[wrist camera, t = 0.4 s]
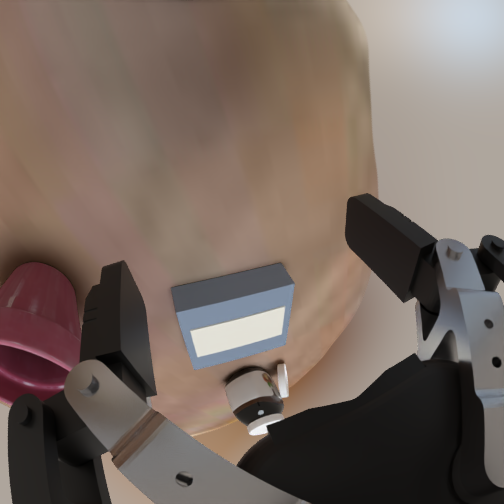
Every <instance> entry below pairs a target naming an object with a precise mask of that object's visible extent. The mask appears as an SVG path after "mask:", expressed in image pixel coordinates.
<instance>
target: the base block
mask: <svg viewBox="0 0 504 504" xmlns="http://www.w3.org/2000/svg"><path fill="white" fill-rule="evenodd" d="M294 285H295V283H294V282H293V280H292V279H291V277H290V276H289V274H288V272H287V271H286V269H285V268H284V266H283V265H282V263H278V264H274V265H269V266H265V267H261V268H257V269H252V270H248V271H244V272H239V273H235V274H231V275H226V276H222V277H217V278H213V279H208V280H204V281H200V282H195V283H191V284H186V285H181V286H177V287H172V288H171V290H172V295H173V300H174V305H175V310H176V314H177V318H178V321H179V324H180V328H181V331H182V334H183V338H184V341H185V344H186V347H187V350H188V353H189V356H190V359H191V362H192V365H193V368H194V370H197V369H201V368H205V367H209V366H213V365H217V364H221V363H225V362H229V361H232V360H236V359H240V358H243V357H247V356H250V355H254V354H257V353H261V352H264V351H267V350H271V349H274V348H277V347H280V346H283V345H285V344H286V338H287V332H288V326H289V319H290V312H291V306H292V299H293V292H294Z"/></svg>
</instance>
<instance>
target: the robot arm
mask: <svg viewBox="0 0 504 504" xmlns="http://www.w3.org/2000/svg"><path fill="white" fill-rule="evenodd" d="M345 238H346V241H347V244H348V246H349V247H350V249H351V250H352V251H353V252H354V253H355V254H356V255H357V256H359V257H360V258H361V259H362V260H363V261H364V262H365V263H366V264H367V265H368V266H369V268H370V269H371V270H372V271H374V273H376V275H377V276H378V277H379V278H380V279H381V280H382V281H383V282H384V283H385V284H386V285H387V286H388V287H389V288H390V289H391V290H392V291H393V292H394V293H395V294H396V295H397V297H398V298H399V299H400V300H401V301H402V302H403V303H404V302H407V301H408V300H410V299H412V298H414V297H416V298H417V302H416V305H415V309H416V310H415V311H416V322H417V336H418V337H417V338H418V352H417V355H416V354H415V353H414V354H412V355H411V356H409V357H407V358H406V359H404V360H403V361H401V362H399V363H398V364H396V365H394V366H393V367H391V368H389V369H388V370H386V371H385V372H384V373H383V374H382V375H381V376H380V377H379V378H378V379H377V380H375V381H374V382H373V383H372V384H371V385H370V386H369V387H368V388H367V389H366V390H365V391H364V392H363V393H362V394H361V395H359V396H358V397H357V398H355V399H353V400H350V401H346V402H341V403H337V404H332V405H327V406H322V407H317V408H311V409H308V410H305V411H303V412H300V413H298V414H296V415H293V416H291V417H288V418H285V419H283V420H280V421H278V422H275V423H272V424H269V425H267V426H266V427H267V431H268V435H267V436H265V437H264V438H262V439H261V440H259V441H258V442H257V443H256V444H255V445H253V446H252V447H251V448H250V449H249V450H248V451H247V452H246V454H244V456H243V457H242V458H241V460H240V461H239V462H238V464H237V466H235V465H234V464H232V463H230V462H229V461H227V460H226V459H224V458H222V457H221V456H219V455H218V454H216V453H214V452H213V451H211V450H210V449H208V448H207V447H205V446H204V445H203V444H201V443H199V442H198V441H197V440H195V439H194V438H192V437H191V436H190V435H188V434H187V433H186V432H184V431H183V430H181V429H180V428H179V427H177V426H176V425H175V424H174V423H172V422H171V421H170V420H168V419H167V418H166V417H164V416H163V415H162V414H160V413H159V412H156V411H155V410H154V409H152V408H151V407H150V406H149V405H148V404H147V399H146V397H151V396H155V395H157V392H156V386H155V380H154V373H153V366H152V359H151V352H150V343H149V335H148V325H147V315H146V308H145V304H144V301H143V298H142V296H141V293H140V291H139V289H138V287H137V285H136V283H135V281H134V279H133V277H132V275H131V272H130V270H129V268H128V266H127V264H126V262H125V261H124V260H123V261H120V262H116V263H113V264H110V265H107V266H104V267H103V268H102V272H101V279H100V284H98V285H95V286H93V287H92V289H91V290H90V292H89V294H88V296H87V298H86V301H85V308H84V312H85V313H84V316H83V323H84V324H83V325H82V334H81V345H80V359H79V364H77V365H76V366H75V367H73V369H72V370H71V371H70V372H69V374H68V375H67V377H66V380H65V384H64V390H62V391H60V392H59V393H57V394H55V395H53V396H51V397H50V398H48V399H46V400H44V401H41V400H40V399H39V398H38V397H37V396H35V395H33V394H29V393H28V394H23V395H21V396H19V397H18V398H17V399H16V400H15V401H14V403H13V404H12V406H11V408H10V411H9V417H8V462H9V477H10V487H11V495H12V503H13V504H112V503H111V500H110V496H109V492H108V488H107V484H106V479H105V474H104V470H103V465H102V459H101V455H102V454H104V453H106V452H108V451H109V452H110V453H111V454H112V456H113V458H112V462H113V463H114V465H115V466H116V467H117V468H118V470H119V471H120V472H121V473H122V474H123V475H124V476H125V477H126V478H127V479H128V480H129V481H131V482H132V483H133V484H134V485H135V486H136V487H137V488H138V489H139V490H140V491H141V492H142V493H144V494H145V495H146V496H147V497H148V498H149V499H150V500H151V501H153V502H154V503H155V504H504V305H503V302H502V299H501V297H500V295H499V293H497V292H495V290H496V288H497V285H498V284H499V282H500V280H502V281H503V282H504V241H503V240H502V239H500V238H498V237H496V236H492V235H486V236H484V237H483V238H482V240H481V243H480V246H479V248H476V249H468V247H466V246H465V245H464V244H463V243H461V242H459V241H457V240H453V239H441V240H439V241H438V240H436V239H435V238H434V237H433V236H432V235H430V234H429V233H427V232H426V231H425V230H424V229H422V228H421V227H419V226H418V225H417V224H416V223H414V222H411V220H410V219H409V218H407V217H406V216H404V215H403V214H402V213H401V212H399V211H397V210H396V209H395V208H393V207H391V206H388V205H386V204H384V203H382V202H381V201H379V200H378V199H377V198H375V197H374V196H372V195H371V194H368V193H366V194H362V195H358V196H354V197H350V198H349V199H348V202H347V213H346V227H345Z"/></svg>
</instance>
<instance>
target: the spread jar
mask: <svg viewBox="0 0 504 504" xmlns="http://www.w3.org/2000/svg"><path fill="white" fill-rule="evenodd" d="M277 372H278V384H279V391H280V393H279V391H278V389H277V387H276V385H275V383H274V381H273V379H272V378H271V377H270V375H269V374H268V373H267V372H266V371H265V370H263V369H261V368H258V367H252V368H247V369H244V370H241V371H239V372H237V373H236V374H234V375H233V376H232V377H231V378H230V379H229V381H228V382H227V384H226V386H225V391H226V395H227V398H228V401H229V404H230V407H231V409H232V411H233V413H234V415H235V416H236V418H237V419H238V420H239V421H241V422H242V423H243V424H245V425H246V426H247V429H248V432H249V434H250V435H260V434H264V433H267V432H268V431H267V427H266V426H267V425H269V424H272V423H275V422H278V421H280V420H283V419H284V417H283V415H282V414H281V413H282V411H283V408H284V404H283V400H282V398H283V397H288V396H289V390H288V379H287V372H286V366H285V363H284V364H278V366H277Z"/></svg>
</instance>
